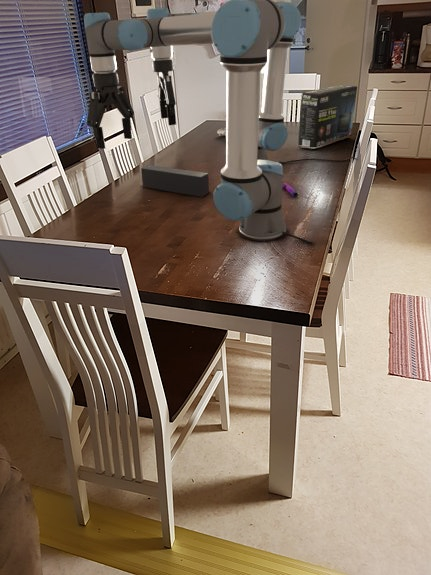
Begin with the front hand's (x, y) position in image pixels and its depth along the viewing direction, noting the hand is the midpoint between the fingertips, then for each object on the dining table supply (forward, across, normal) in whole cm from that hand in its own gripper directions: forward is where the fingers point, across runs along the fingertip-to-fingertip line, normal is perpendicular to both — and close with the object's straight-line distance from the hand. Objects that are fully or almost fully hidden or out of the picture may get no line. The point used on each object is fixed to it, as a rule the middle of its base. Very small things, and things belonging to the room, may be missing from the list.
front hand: (115, 143), depth 150 cm
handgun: (+27, -51, +38) cm, 69 cm away
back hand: (-1, -32, -1) cm, 32 cm away
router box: (+27, -128, +32) cm, 135 cm away
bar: (+26, -33, -1) cm, 43 cm away
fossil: (+26, -126, -22) cm, 131 cm away
